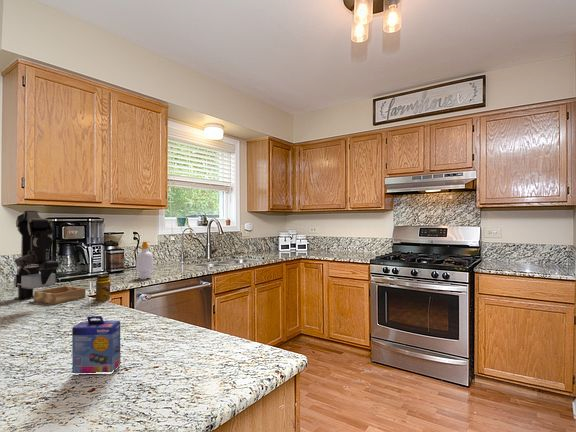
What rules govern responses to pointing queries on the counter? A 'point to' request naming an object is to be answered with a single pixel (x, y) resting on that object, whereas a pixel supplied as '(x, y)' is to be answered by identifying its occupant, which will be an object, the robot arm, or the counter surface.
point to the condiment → (102, 289)
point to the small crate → (36, 281)
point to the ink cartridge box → (95, 346)
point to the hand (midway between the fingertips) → (38, 283)
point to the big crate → (59, 294)
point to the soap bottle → (144, 262)
